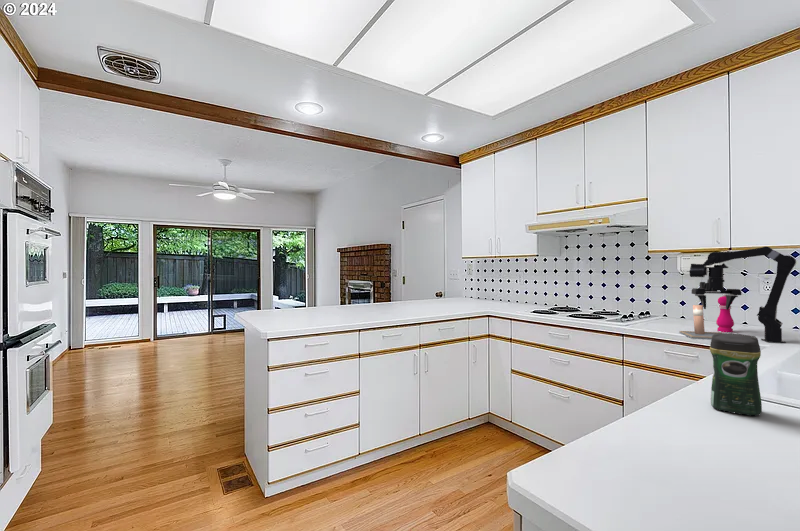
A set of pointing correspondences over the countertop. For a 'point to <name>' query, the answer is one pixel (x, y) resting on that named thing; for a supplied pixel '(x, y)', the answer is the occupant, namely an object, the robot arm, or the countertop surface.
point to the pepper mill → (724, 316)
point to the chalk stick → (698, 319)
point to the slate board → (698, 336)
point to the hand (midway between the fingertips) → (715, 309)
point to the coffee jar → (735, 373)
